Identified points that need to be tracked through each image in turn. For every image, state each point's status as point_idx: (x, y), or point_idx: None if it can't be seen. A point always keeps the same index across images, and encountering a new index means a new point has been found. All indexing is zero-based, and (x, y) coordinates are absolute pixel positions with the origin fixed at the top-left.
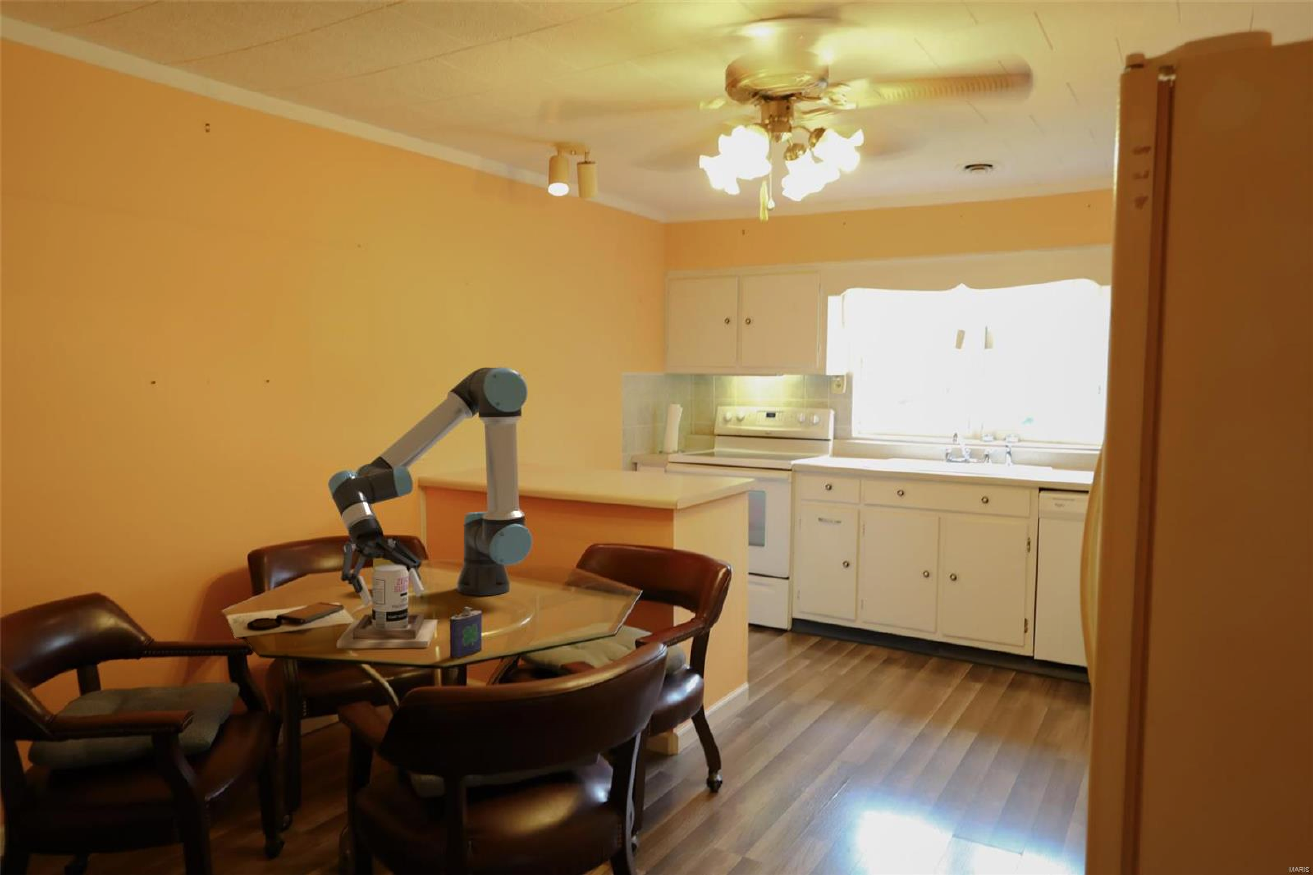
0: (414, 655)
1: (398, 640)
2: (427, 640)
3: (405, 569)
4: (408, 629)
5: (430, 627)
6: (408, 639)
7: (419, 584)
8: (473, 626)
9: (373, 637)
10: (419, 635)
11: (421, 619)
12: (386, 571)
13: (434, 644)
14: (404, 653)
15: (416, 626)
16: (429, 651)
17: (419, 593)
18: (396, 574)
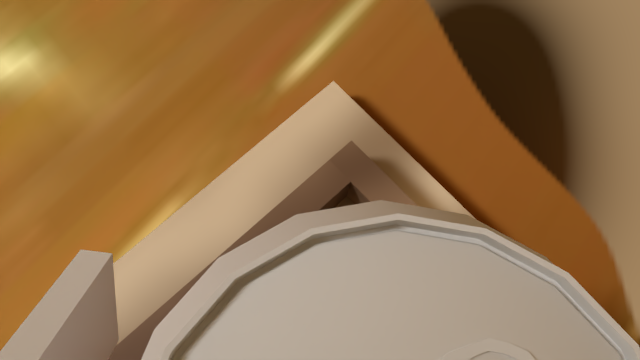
0: (446, 57)
1: (431, 195)
2: (328, 89)
3: (254, 262)
4: (372, 177)
5: (146, 260)
6: (383, 171)
7: (70, 296)
8: None
9: None
10: (297, 184)
11: (148, 320)
12: (607, 324)
13: (276, 111)
14: (461, 109)
15: (300, 191)
16: (363, 51)
17: (111, 297)
18: (465, 219)
